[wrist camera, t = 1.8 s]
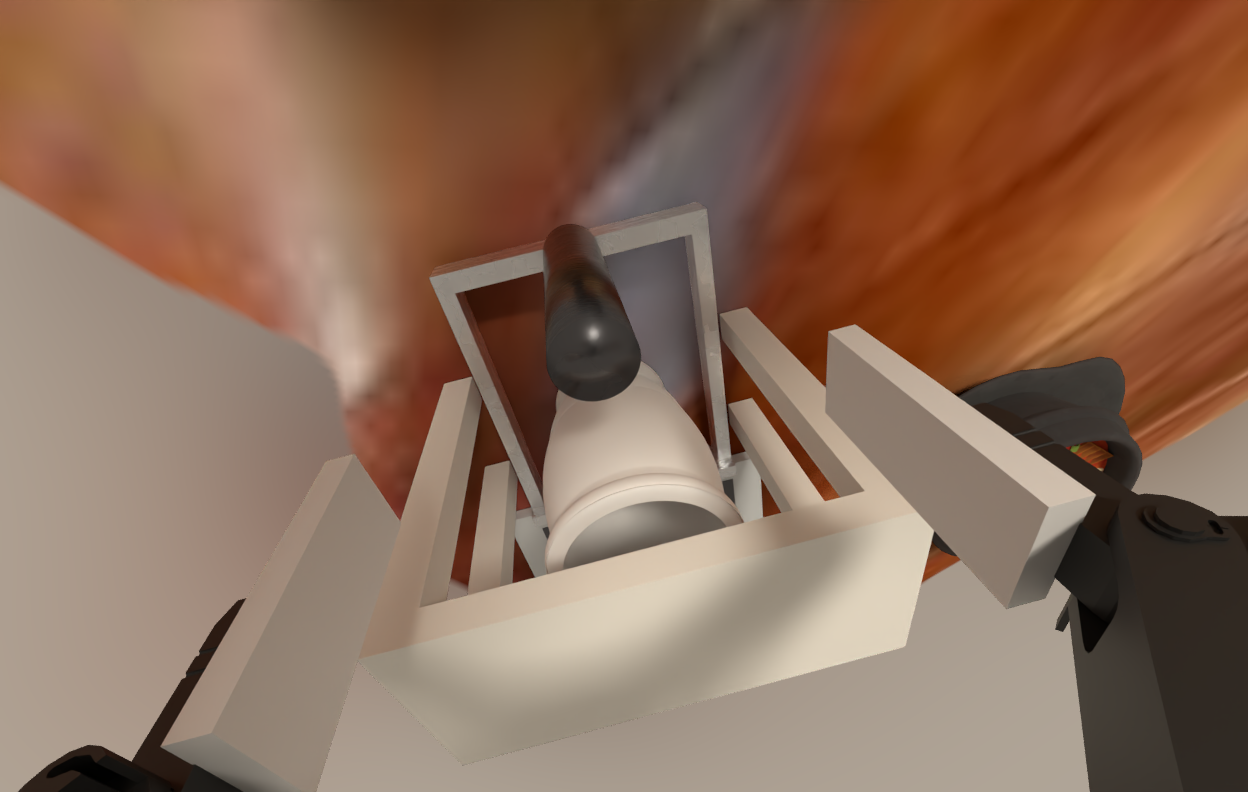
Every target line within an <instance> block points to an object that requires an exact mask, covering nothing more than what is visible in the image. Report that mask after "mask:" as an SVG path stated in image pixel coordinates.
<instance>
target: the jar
mask: <svg viewBox="0 0 1248 792" xmlns="http://www.w3.org/2000/svg"><path fill="white" fill-rule="evenodd" d="M556 412H557V413H556V415H555V418H554V421H553V424H552V428H551V433H550V440H549V443H548V447H547V451H546V455H545V461H544V469H543V499H544V507H545V514H546V519H547V524H548V528H549V532H550V535H549V538H548V540H547V544H546V549H545V567H546V575H547V574H551V573H555V572H558V571H562V570H566V569H570V568H574V567H578V566H581V565H585V564H589V563H593V562H597V561H600V560H604V559H608V558H612V557H616V556H619V555H623V554H627V553H631V552H635V551H639V550H642V549H646V548H650V547H654V546H658V545H661V544H665V543H669V542H673V541H677V540H680V539H684V538H688V537H692V536H696V535H700V534H703V533H707V532H711V531H715V530H719V529H722V528H726V527H730V526H734V525H738V524H741V523H744V520H743V519H742V516H741V514H740V512H739V510H738V509H737V507H736V505H735V504H734V503H733V502H732V500H731V499H730V498H729V497H728V496H727V495H726V494H724V489H723V485H722V481H721V477H720V474H719V471H718V468H717V465H716V462H715V460H714V457H713V455H712V452H711V450H710V448H709V446H708V444H707V442H706V440H705V439H704V437H703V435H702V434H701V432H700V431H699V429H698V428H697V426H696V425H695V423H694V422H693V421H692V420H691V418H690V417H689V416H688V415H687V413H686V412H685V411H684V410H683V409H682V408H681V406H680V405H679V404H678V402H677V401H676V400H675V399H674V398H673V396H672V395H671V394H670V393H669V392H668V391H666V390H665V388H664V385H663V383H662V381H661V379H660V377H659V376H658V375H657V373H656V372H655V371H654V370H653V369H652V368H651V367H649V366H648V365H647V364H645V363H643V362H642V361H641V363H640V368H639V371H638V373H637V375H636V377H635V379H634V380H633V382H632V383H631V384H630V385H629V386H628V387H627V388H626V389H625V390H624V391H623V392H621V393H620V394H618V395H616V396H614V397H612V398H609V399H606V400H602V401H594V402H591V401H581V400H577V399H574V398H572V397H569V396H568V395H566V394H564V393H563V392H561V391H560V390H558V393H557V397H556Z"/></svg>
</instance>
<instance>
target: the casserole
mask: <svg viewBox="0 0 1248 792" xmlns="http://www.w3.org/2000/svg"><path fill="white" fill-rule="evenodd" d="M1124 394H1125V379H1124V375H1123V373H1122V370H1121V367H1120V366H1119V365H1118V364H1117V363H1116V362H1115V361H1114V360H1113V359H1110V358H1104V357H1096V358H1092V359H1087V360H1083V361H1079V362H1075V363H1072V364H1068V365H1064V366H1061V367H1052V368H1041V369H1031V370H1020V371H1017V372H1013V373H1009V374H1006V375H1002V376H999V377H996V378H994V379H991V380H989V381H987V382H984V383H982V384H980V385H977V386H975V387H974V388H972V389H970V390H969V391H967V392H965V393H963V394H962V395H960V396H958V397H959V398H960V399H961V400H963V401H964V402H966V403H967V404H968V405H970V406H972V405H976V404H980V403H984V402H985V403H988V404H990V405H993V406H996V407H998V408H1001V409H1004V410H1006V411H1009V412H1012V413H1014V414H1015V415H1017V416H1018V417H1020V418H1021V419H1023V420H1024V421H1026V422H1028V423H1029V424H1031V425H1032V426H1034V427H1035V428H1036V431H1041V432H1043V433H1044V434H1046V435H1047V436H1049V437H1050V438H1052V439H1053V440H1055V441H1054V442H1055V443H1056V444H1061V445H1062V446H1064V447H1065V448H1067V449H1068V450H1070V451H1072V452H1073V453H1075V454H1076V455H1078V456H1079V457H1081V458H1082V459H1084V460H1085V461H1087V462H1088V463H1090V464H1091V465H1093V466H1094V467H1096V468H1097V469H1099V470H1100V471H1102V472H1103V473H1105V474H1106V475H1108V476H1109V477H1111V478H1112V479H1114V480H1115V481H1117V482H1119V483H1120V484H1122V485H1123V486H1125V487H1126V488H1128V489H1129V490H1131V489H1132V488H1133V486H1134V484H1135V482H1136V481H1137V479H1138V477H1139V474H1140V470H1141V467H1142V453H1141V450H1140V448H1139V446H1138V444H1137V443H1136V442H1135V441H1134V440H1133V438H1132V437H1131V436H1130V435H1129V429H1128V427H1127V425H1126V423H1125V420H1124V419H1123V418H1122V417H1120V416H1119V412H1120V410H1121V406H1122V402H1123V398H1124ZM932 541H933V543H934V544H935V545H936V546H937V547H938V548H939V549H940V550H941V551H943V552H946V553H948V554H950V555H953V556H957V555H956V554H955V553H954V552H953V551H952V550H951V548H950V547H949V546H948V545H947V544H946V543H945V542H944V541H943V540H942V539H941V538H940V536H939V535H938V534H937V533H936V532H935V531H934V533H933V537H932Z"/></svg>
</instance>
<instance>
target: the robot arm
mask: <svg viewBox="0 0 1248 792" xmlns="http://www.w3.org/2000/svg"><path fill="white" fill-rule="evenodd" d="M825 413H826V414H827V415H828V416H829V417H830V418H831V419H832V420H833V421H834V422H835V424H836V425H837V426H838V427H839V428H840V429H841V430H842V431H843V432H844V433H845V434H846V435H847V437H848V438H849V439H850V440H851V441H852V442H853V443H854V444H855V445H856V446H857V447H858V449H859V450H860V451H861V452H862V453H863V454H864V455H865V456H866V457H867V458H868V459H869V460H870V462H871V463H872V464H873V465H874V466H875V467H876V468H877V469H878V470H879V471H880V472H881V474H882V475H883V476H884V477H885V478H886V479H887V480H888V481H889V482H890V483H891V484H892V485H893V487H894V488H895V489H896V490H897V491H898V492H899V493H900V494H901V495H902V496H903V497H904V498H905V500H906V501H907V502H908V503H909V504H910V505H911V506H912V507H913V508H914V509H915V510H916V512H917V513H918V514H919V515H920V516H921V517H922V518H923V519H924V520H925V521H926V522H927V523H928V525H929V526H930V527H931V528H932V529H933V530H934V531H935V532H936V533H937V534H938V535H939V536H940V538H941V539H942V540H943V541H944V542H945V543H946V544H947V545H948V546H949V547H950V548H951V550H952V551H953V552H954V553H955V554H956V555H957V556H958V557H959V558H960V559H961V560H962V561H963V563H964V564H965V565H966V566H967V567H968V568H969V569H970V570H971V571H972V572H973V573H974V574H975V575H976V577H977V578H978V579H979V580H980V581H981V582H982V583H983V584H984V585H985V586H986V587H987V588H988V590H989V591H990V592H991V593H992V594H993V595H994V596H995V597H996V598H997V599H998V601H999V602H1000V603H1001V604H1002V605H1003V606H1004V607H1005V608H1006V609H1008V608H1012V607H1015V606H1019V605H1023V604H1027V603H1030V602H1033V601H1038V600H1041V599H1044V598H1046V596H1047V594H1048V592H1049V589H1050V588H1051V586H1052V584H1053V582H1054V579H1055V578H1056V579H1057V580H1058V581H1059V582H1060V583H1061V584H1062V585H1063V586H1065V587H1066V588H1067V589H1068V590H1069V591H1070V592H1071V595H1070V597H1069V599H1068V601H1067V602H1066V604H1065V606H1064V608H1063V610H1062V612H1061V614H1060V616H1059V617H1058V619H1057V624H1056V628H1055V629H1056V630H1059V631H1062V632H1063V631H1064V629H1065V628H1066V626H1067V624H1068V622H1069V620H1070V628H1071V636H1072V645H1073V654H1074V662H1075V671H1076V678H1077V687H1078V696H1079V704H1080V712H1081V720H1082V729H1083V737H1084V746H1085V754H1086V763H1087V771H1088V779H1089V788H1090V792H1248V516H1217V515H1216V514H1215V513H1213V512H1212V511H1209V510H1207V509H1205V508H1203V507H1200V506H1198V505H1196V504H1194V503H1191V502H1189V501H1185V500H1181V499H1178V498H1174V497H1170V496H1166V495H1154V494H1141V495H1138V494H1136V493H1134V492H1132V491H1131V490H1129V489H1128V488H1126V487H1125V486H1123V485H1122V484H1120V483H1119V482H1117V481H1115V480H1114V479H1112V478H1111V477H1109V476H1108V475H1106V474H1105V473H1103V472H1102V471H1100V470H1099V469H1097V468H1096V467H1094V466H1093V465H1091V464H1090V463H1088V462H1087V461H1085V460H1084V459H1082V458H1081V457H1079V456H1078V455H1076V454H1075V453H1073V452H1072V451H1070V450H1068V449H1067V448H1065V447H1064V446H1062V445H1061V444H1056V443H1055V442H1054V441H1055V440H1053V439H1052V438H1050V437H1049V436H1047V435H1046V434H1044V433H1043V432H1041V431H1036V428H1035V427H1034V426H1032V425H1031V424H1029V423H1028V422H1026V421H1024V420H1023V419H1021V418H1020V417H1018V416H1017V415H1015V414H1014V413H1012V412H1009V411H1006V410H1004V409H1001V408H998V407H996V406H993V405H990V404H988V403H985V402H984V403H980V404H976V405H972V406H970V405H968V404H967V403H966V402H964V401H963V400H961V399H960V398H959V397H957V396H956V395H954V394H953V393H951V392H950V391H949V390H947V389H946V388H944V387H943V386H942V385H940V384H939V383H937V382H936V381H935V380H933V379H932V378H930V377H929V376H927V375H926V374H925V373H923V372H922V371H920V370H919V369H918V368H916V367H915V366H913V365H912V364H911V363H909V362H908V361H906V360H905V359H903V358H902V357H901V356H899V355H898V354H896V353H895V352H894V351H892V350H891V349H889V348H888V347H886V346H885V345H884V344H882V343H881V342H879V341H878V340H877V339H875V338H874V337H872V336H871V335H870V334H868V333H867V332H865V331H864V330H862V329H861V328H860V327H858V326H857V325H851V326H848V327H844V328H840V329H836V330H832V331H828V353H827V378H826V403H825ZM400 526H401V522H400V520H399V519H398V517H397V516H396V515H395V513H394V512H393V510H392V509H391V507H390V506H389V504H388V503H387V501H386V500H385V498H384V497H383V495H382V494H381V492H380V491H379V489H378V488H377V486H376V485H375V484H374V482H373V481H372V479H371V478H370V476H369V475H368V473H367V472H366V470H365V469H364V467H363V466H362V464H361V463H360V461H359V460H358V458H357V457H356V455H355V454H352V455H348V456H344V457H340V458H336V459H332V460H328V461H326V462H325V464H324V465H323V467H322V469H321V471H320V472H319V474H318V476H317V478H316V479H315V481H314V483H313V485H312V486H311V488H310V490H309V491H308V493H307V495H306V497H305V498H304V500H303V502H302V503H301V505H300V507H299V509H298V510H297V512H296V514H295V515H294V517H293V519H292V521H291V522H290V524H289V526H288V528H287V529H286V531H285V533H284V534H283V536H282V538H281V540H280V541H279V543H278V545H277V547H276V549H275V550H274V552H273V554H272V555H271V557H270V559H269V560H268V562H267V564H266V565H265V567H264V569H263V571H262V572H261V574H260V576H259V578H258V579H257V581H256V583H255V584H254V586H253V588H252V590H251V591H250V593H249V595H248V596H247V598H245V599H242V600H238V601H237V602H236V603H235V604H234V605H233V606H232V607H231V609H230V610H229V611H228V612H227V613H226V614H225V615H224V616H223V617H222V618H221V619H220V620H219V621H218V622H217V624H216V625H215V626H214V628H213V629H212V631H211V632H210V634H209V636H208V637H207V639H206V641H205V642H204V644H203V645H202V647H201V649H200V650H199V652H200V654H199V656H196V657H195V659H194V660H193V662H192V664H191V665H190V667H189V668H188V670H187V672H186V678H184V679H182V680H181V682H180V683H179V685H178V687H177V688H176V690H175V691H174V693H173V695H172V696H171V698H170V700H169V701H168V703H167V704H166V706H165V708H164V709H163V711H162V713H161V714H160V716H159V718H158V719H157V721H156V722H155V724H154V726H153V728H152V729H151V731H150V732H149V734H148V736H147V737H146V739H145V740H144V742H143V744H142V746H141V747H140V749H139V750H138V752H137V754H136V755H135V757H134V758H133V760H132V762H131V761H129V760H127V759H125V758H123V757H121V756H119V755H117V754H115V753H113V752H111V751H109V750H108V749H106V748H104V747H102V746H93V745H87V746H84V747H81V748H79V749H76V750H73V751H71V752H69V753H67V754H65V755H64V756H62V757H61V758H59V759H57V760H56V761H54V762H53V763H51V764H49V765H48V766H47V767H46V768H44V769H43V770H42V771H41V772H39V773H38V774H37V775H36V776H35V777H33V778H32V779H31V780H30V781H29V782H28V783H26V784H25V785H24V786H23V787H22V788H21V789H20V790H19V792H316V791H317V788H318V784H319V781H320V778H321V775H322V772H323V768H324V765H325V762H326V759H327V756H328V753H329V750H330V747H331V743H332V740H333V737H334V734H335V731H336V728H337V725H338V721H339V718H340V715H341V712H342V709H343V705H344V702H345V699H346V696H347V693H348V690H349V686H350V683H351V680H352V677H353V674H354V671H355V667H356V665H357V662H358V658H359V655H360V652H361V649H362V646H363V643H364V640H365V636H366V633H367V630H368V627H369V624H370V621H371V617H372V614H373V611H374V608H375V605H376V602H377V599H378V595H379V592H380V589H381V586H382V583H383V580H384V577H385V573H386V570H387V567H388V564H389V561H390V558H391V555H392V551H393V548H394V545H395V542H396V539H397V536H398V532H399V529H400Z"/></svg>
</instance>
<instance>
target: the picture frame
mask: <svg viewBox="0 0 1248 792" xmlns="http://www.w3.org/2000/svg"><path fill="white" fill-rule="evenodd" d="M683 236H685V244H686V252H687V259H688V267H689V275H690V283H691V291H692V299H693V307H694V314H695V322H696V330H697V338H698V346H699V354H700V362H701V369H702V377H703V385H704V393H705V401H706V409H707V417H708V425H709V432H710V440H711V445H708V446H709V448H710V450H711V452H712V455H713V457H714V460H715V462H716V465H717V468H718V471H719V474H720V477H721V479H722V478H726V477H730V476H734V475H736V465H735V463H734V461H733V460H732V458H731V450H730V440H729V430H728V420H727V409H726V399H725V389H724V379H723V369H722V358H721V348H720V338H719V328H718V318H717V307H716V297H715V287H714V277H713V267H712V256H711V246H710V236H709V226H708V216H707V208H705V207H704V206H702V205H701V204H699V203H698V202H694V203H690V204H686V205H682V206H678V207H674V208H670V209H666V210H662V211H658V212H654V213H650V214H645V215H641V216H637V217H633V218H629V219H625V220H621V221H617V222H613V223H609V224H605V225H601V226H597V227H593V228H589V229H586V228H584V227H582V226H579V225H575V224H566V225H562V226H559V227H557V228H556V229H554V230H553V231H552V232H551V233H550V234H549V235H548V237H547V238H546V239H545V240H541V241H537V242H533V243H529V244H525V245H521V246H517V247H513V248H509V249H505V250H501V251H497V252H493V253H489V254H485V255H481V256H477V257H473V258H469V259H465V260H461V261H457V262H453V263H449V264H445V265H441V266H437V267H435V268H434V270H433V272H432V274H431V275H430V277H429V279H430V281H431V283H432V286H433V288H434V290H435V292H436V295H437V297H438V299H439V301H440V304H441V306H442V308H443V310H444V312H445V315H446V317H447V319H448V321H449V324H450V326H451V328H452V330H453V333H454V335H455V337H456V339H457V342H458V344H459V346H460V348H461V351H462V353H463V355H464V357H465V359H466V362H467V364H468V366H469V368H470V371H471V373H472V375H473V377H474V380H475V382H476V384H477V386H478V389H479V391H480V393H481V395H482V398H483V400H484V402H485V404H486V406H487V409H488V411H489V413H490V415H491V418H492V420H493V422H494V424H495V427H496V429H497V431H498V433H499V436H500V438H501V440H502V442H503V445H504V447H505V449H506V451H507V453H508V456H509V458H510V460H511V462H512V465H513V467H514V469H515V471H516V474H517V476H518V478H519V480H520V483H521V485H522V487H523V489H524V492H525V494H526V496H527V498H528V500H529V503H530V505H531V507H532V519H533V521H534V524H535V526H536V527H538V526H541V525H545V524H547V519H546V514H545V507H544V499H543V483H542V481H541V478H540V476H539V473H538V471H537V468H536V466H535V464H534V461H533V459H532V456H531V454H530V451H529V449H528V447H527V444H526V442H525V439H524V437H523V434H522V432H521V430H520V427H519V425H518V422H517V420H516V417H515V415H514V412H513V410H512V408H511V405H510V403H509V400H508V398H507V395H506V393H505V391H504V388H503V386H502V383H501V381H500V378H499V376H498V374H497V371H496V369H495V366H494V364H493V361H492V359H491V357H490V354H489V352H488V349H487V347H486V344H485V342H484V340H483V337H482V335H481V332H480V330H479V327H478V325H477V323H476V320H475V318H474V315H473V313H472V310H471V308H470V305H469V303H468V301H467V298H466V296H465V293H464V291H467V290H471V289H475V288H479V287H483V286H487V285H491V284H495V283H499V282H503V281H507V280H511V279H515V278H519V277H523V276H527V275H531V274H535V273H539V272H543V274H544V303H545V331H546V360H547V370H548V373H549V376H550V378H551V380H552V382H553V383H554V384H555V386H556V387H557V388H558V389H559V390H560V391H561V392H563V393H564V394H566V395H568V396H569V397H572V398H574V399H577V400H581V401H591V402H594V401H602V400H606V399H609V398H612V397H614V396H616V395H618V394H620V393H621V392H623V391H624V390H625V389H626V388H627V387H628V386H629V385H630V384H631V383H632V382H633V380H634V379H635V377H636V375H637V373H638V371H639V368H640V363H641V353H640V348H639V344H638V342H637V340H636V337H635V335H634V332H633V330H632V327H631V325H630V322H629V320H628V317H627V315H626V312H625V310H624V307H623V305H622V302H621V300H620V297H619V295H618V292H617V290H616V287H615V285H614V282H613V280H612V277H611V275H610V272H609V270H608V267H607V265H606V262H605V260H604V257H603V256H607V255H611V254H615V253H619V252H623V251H627V250H631V249H635V248H639V247H643V246H647V245H651V244H655V243H659V242H663V241H667V240H671V239H675V238H679V237H683Z"/></svg>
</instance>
